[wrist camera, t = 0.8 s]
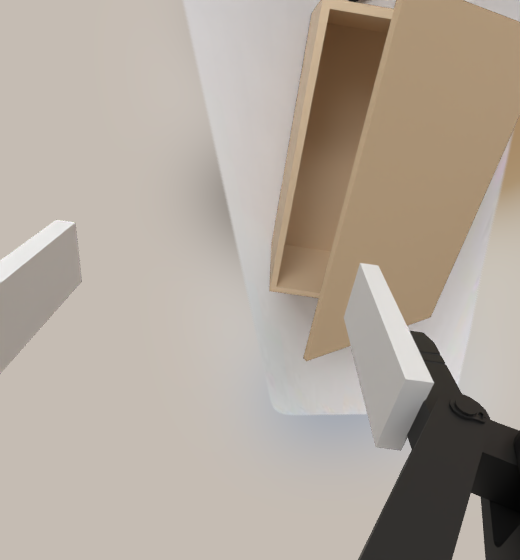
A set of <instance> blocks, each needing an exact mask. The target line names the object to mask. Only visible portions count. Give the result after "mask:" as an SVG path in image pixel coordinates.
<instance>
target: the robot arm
mask: <svg viewBox="0 0 520 560" xmlns="http://www.w3.org/2000/svg"><path fill="white" fill-rule="evenodd" d="M81 282H82V279H81V269H80V260H79V251H78V241H77V232H76V223H75V222H69V221H62V220H55V221H54V222H52V223H51V224H50V225H48V226H47V227H46V228H44V229H43V230H41V231H40V232H39V233H38V234H36V235H35V236H33V237H32V238H30V239H29V240H28V241H26V242H25V243H24V244H22V245H21V246H19V247H18V248H17V249H15V250H14V251H12V252H11V253H10V254H8V255H7V256H6V257H4V258H3V259H1V260H0V374H1V372H2V371H3V370H4V369H5V368H6V367H7V365H8V364H9V363H10V362H11V361H12V360H13V359H14V358H15V357H16V355H17V354H18V353H19V352H20V351H21V350H22V349H23V347H24V346H25V345H26V344H27V343H28V342H29V340H31V338H32V337H33V336H34V335H35V334H36V333H37V332H38V330H39V329H40V328H41V327H42V326H43V325H44V324H45V323H46V321H47V320H48V319H49V318H50V317H51V316H52V315H53V313H54V312H55V311H56V310H57V309H58V308H59V307H60V306H61V304H62V303H63V302H64V301H65V300H66V299H67V298H68V296H69V295H70V294H71V293H72V292H73V291H74V290H75V288H76V287H77V286H78V285H79V284H80V283H81ZM344 321H345V325H346V329H347V333H348V337H349V341H350V345H351V349H352V353H353V357H354V361H355V365H356V369H357V373H358V377H359V381H360V386H361V390H362V394H363V398H364V402H365V406H366V410H367V414H368V418H369V422H370V426H371V430H372V434H373V438H374V442H375V446H376V447H379V448H386V449H394V450H401V449H402V447H403V445H404V443H405V441H406V439H407V437H408V439H409V442H410V445H411V448H412V451H411V453H410V455H409V457H408V459H407V461H406V463H405V465H404V467H403V469H402V471H401V473H400V475H399V477H398V479H397V481H396V484H395V486H394V487H393V489H392V492H391V494H390V496H389V498H388V500H387V502H386V504H385V506H384V508H383V510H382V512H381V514H380V516H379V518H378V520H377V522H376V524H375V526H374V528H373V530H372V533H371V535H370V536H369V538H368V540H367V542H366V544H365V547H364V549H363V551H362V553H361V555H360V557H359V559H358V560H452V556H453V553H454V550H455V546H456V542H457V539H458V535H459V532H460V528H461V525H462V521H463V518H464V514H465V511H466V507H467V504H468V500H469V497H470V493H473V494H476V495H478V496H480V497H481V505H482V518H483V531H484V544H485V557H486V560H520V431H518V430H516V429H513V428H510V427H507V426H505V425H502V424H499V423H497V422H494V421H492V420H490V417H489V416H488V414H487V412H486V410H485V409H484V408H483V407H482V406H481V405H480V404H479V403H478V402H476V401H475V400H473V399H472V398H470V397H468V396H466V395H463V394H462V393H461V392H460V390H459V388H458V386H457V384H456V382H455V380H454V379H453V377H452V375H451V373H450V371H449V369H448V368H447V366H446V365H445V362H444V360H443V358H442V356H440V353H439V351H438V349H437V347H436V345H435V344H434V342H433V341H432V340H431V339H429V338H428V337H427V336H426V335H425V334H424V333H422V332H415V331H409V329H408V327H407V325H406V323H405V321H404V318H403V316H402V314H401V312H400V310H399V308H398V306H397V304H396V302H395V300H394V297H393V295H392V293H391V291H390V289H389V287H388V285H387V283H386V281H385V278H384V276H383V274H382V272H381V270H380V268H379V266H378V265H371V264H364V263H360V264H359V268H358V271H357V274H356V278H355V281H354V285H353V288H352V291H351V295H350V298H349V301H348V305H347V308H346V311H345V315H344Z"/></svg>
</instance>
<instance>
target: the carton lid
mask: <svg viewBox="0 0 520 560" xmlns="http://www.w3.org/2000/svg"><path fill="white" fill-rule="evenodd" d="M519 116H520V22H518V21H516V20H513V19H510V18H508V17H505V16H503V15H500V14H497V13H495V12H492V11H490V10H487V9H484V8H482V7H479V6H476V5H474V4H471V3H469V2H466V1H463V0H396V3H395V7H394V11H393V15H392V19H391V22H390V26H389V30H388V34H387V38H386V42H385V46H384V49H383V53H382V57H381V61H380V65H379V69H378V72H377V76H376V80H375V84H374V88H373V92H372V96H371V99H370V103H369V107H368V111H367V115H366V119H365V122H364V126H363V130H362V134H361V138H360V142H359V146H358V149H357V153H356V157H355V161H354V165H353V169H352V172H351V176H350V180H349V184H348V188H347V192H346V196H345V199H344V203H343V207H342V211H341V215H340V219H339V222H338V226H337V230H336V234H335V238H334V242H333V246H332V249H331V253H330V257H329V261H328V265H327V269H326V272H325V276H324V280H323V284H322V288H321V292H320V296H319V299H318V303H317V307H316V311H315V315H314V319H313V322H312V326H311V330H310V334H309V338H308V342H307V346H306V349H305V353H304V357H303V358H304V359H305V360H306V361H308V360H311V359H314V358H317V357H320V356H323V355H325V354H328V353H331V352H334V351H337V350H339V349H342V348H345V347H348V346H351V345H350V341H349V337H348V333H347V329H346V325H345V321H344V315H345V311H346V308H347V305H348V301H349V298H350V295H351V291H352V288H353V285H354V281H355V278H356V274H357V271H358V268H359V264H360V263H364V264H371V265H378V266H379V268H380V270H381V272H382V274H383V276H384V278H385V281H386V283H387V285H388V287H389V289H390V291H391V293H392V295H393V297H394V300H395V302H396V304H397V306H398V308H399V310H400V312H401V314H402V316H403V318H404V321H405V323H406V325H410V324H413V323H416V322H418V321H421V320H424V319H427V318H430V317H431V315H432V313H433V310H434V308H435V306H436V304H437V301H438V299H439V297H440V295H441V292H442V290H443V288H444V285H445V283H446V281H447V279H448V276H449V274H450V272H451V270H452V267H453V265H454V263H455V261H456V258H457V256H458V254H459V252H460V249H461V247H462V245H463V243H464V240H465V238H466V236H467V233H468V231H469V229H470V227H471V224H472V222H473V220H474V218H475V215H476V213H477V211H478V209H479V206H480V204H481V202H482V200H483V197H484V195H485V193H486V191H487V188H488V186H489V184H490V181H491V179H492V177H493V175H494V172H495V170H496V168H497V166H498V163H499V161H500V159H501V157H502V154H503V152H504V150H505V148H506V145H507V143H508V141H509V138H510V136H511V134H512V132H513V129H514V127H515V125H516V123H517V120H518V118H519Z"/></svg>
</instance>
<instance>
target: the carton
mask: <svg viewBox="0 0 520 560" xmlns="http://www.w3.org/2000/svg"><path fill="white" fill-rule="evenodd" d="M393 11H394V9H391V8H386V7H380V6H374V5H368V4H362V3H357V2H351V1H345V0H321V1H320V2H319V3H318V5H317V6H316V8H315V9H314V11H313V12H312V14H311V20H310V25H309V31H308V37H307V43H306V48H305V54H304V60H303V66H302V71H301V77H300V83H299V89H298V94H297V100H296V106H295V112H294V117H293V123H292V129H291V135H290V140H289V146H288V152H287V158H286V163H285V169H284V175H283V181H282V186H281V192H280V198H279V204H278V209H277V215H276V221H275V227H274V232H273V238H272V244H271V264H270V289H269V291H273V292H280V293H287V294H293V295H300V296H307V297H314V298H319V296H320V292H321V288H322V284H323V280H324V276H325V272H326V269H327V265H328V261H329V257H330V253H331V249H332V246H333V242H334V238H335V234H336V230H337V226H338V222H339V219H340V215H341V211H342V207H343V203H344V199H345V196H346V192H347V188H348V184H349V180H350V176H351V172H352V169H353V165H354V161H355V157H356V153H357V149H358V146H359V142H360V138H361V134H362V130H363V126H364V122H365V119H366V115H367V111H368V107H369V103H370V99H371V96H372V92H373V88H374V84H375V80H376V76H377V72H378V69H379V65H380V61H381V57H382V53H383V49H384V46H385V42H386V38H387V34H388V30H389V26H390V22H391V19H392V15H393Z"/></svg>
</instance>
